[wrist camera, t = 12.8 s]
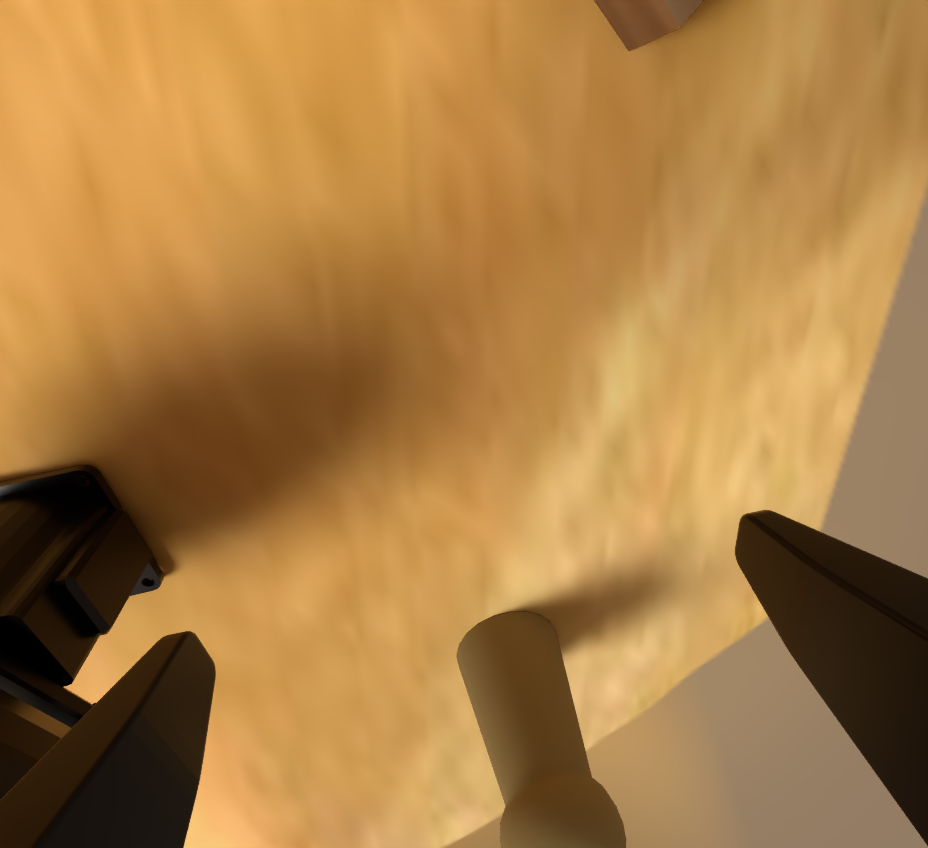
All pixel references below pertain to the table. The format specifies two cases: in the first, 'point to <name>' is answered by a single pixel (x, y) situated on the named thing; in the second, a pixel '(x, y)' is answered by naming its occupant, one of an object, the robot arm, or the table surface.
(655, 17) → the clip collar
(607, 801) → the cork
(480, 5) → the table surface
